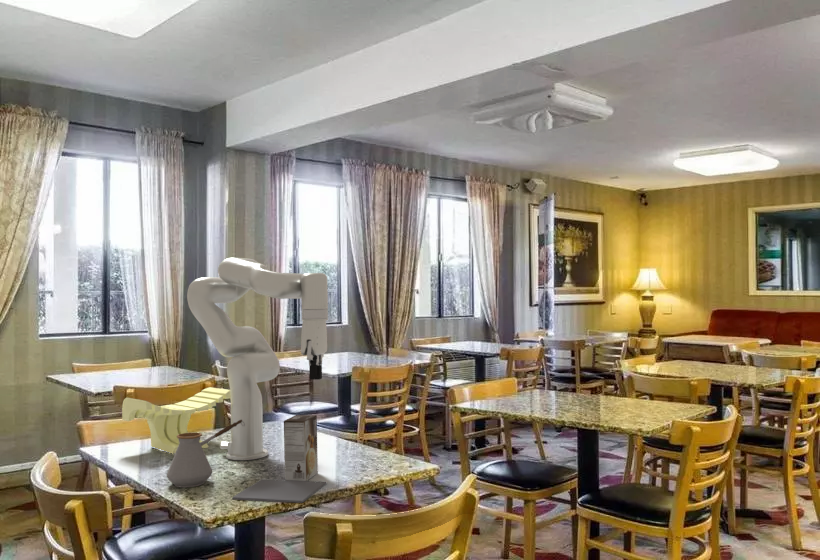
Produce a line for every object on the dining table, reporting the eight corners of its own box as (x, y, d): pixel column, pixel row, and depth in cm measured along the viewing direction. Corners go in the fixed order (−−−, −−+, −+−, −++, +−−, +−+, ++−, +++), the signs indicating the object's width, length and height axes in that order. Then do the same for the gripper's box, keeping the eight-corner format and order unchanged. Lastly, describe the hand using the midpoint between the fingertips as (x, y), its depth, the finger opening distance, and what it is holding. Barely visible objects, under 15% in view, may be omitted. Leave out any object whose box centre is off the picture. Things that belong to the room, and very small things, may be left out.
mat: (232, 499, 167) (232, 497, 167) (262, 480, 183) (262, 479, 183) (302, 502, 163) (302, 500, 163) (326, 483, 179) (326, 481, 179)
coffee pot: (176, 492, 174) (175, 432, 174) (160, 483, 183) (159, 426, 183) (253, 477, 187) (253, 421, 188) (235, 469, 196) (235, 416, 196)
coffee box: (296, 472, 192) (295, 414, 192) (318, 473, 190) (317, 414, 191) (283, 481, 183) (283, 420, 183) (306, 481, 181) (306, 420, 182)
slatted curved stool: (205, 436, 244) (204, 386, 245) (230, 442, 234) (230, 389, 234) (122, 452, 222) (122, 396, 222) (146, 459, 211) (146, 400, 212)
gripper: (311, 315, 208) (312, 376, 207) (292, 316, 193) (293, 382, 192) (335, 314, 206) (336, 376, 205) (318, 316, 191) (319, 382, 191)
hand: (315, 379), depth 199 cm, fingers closed
